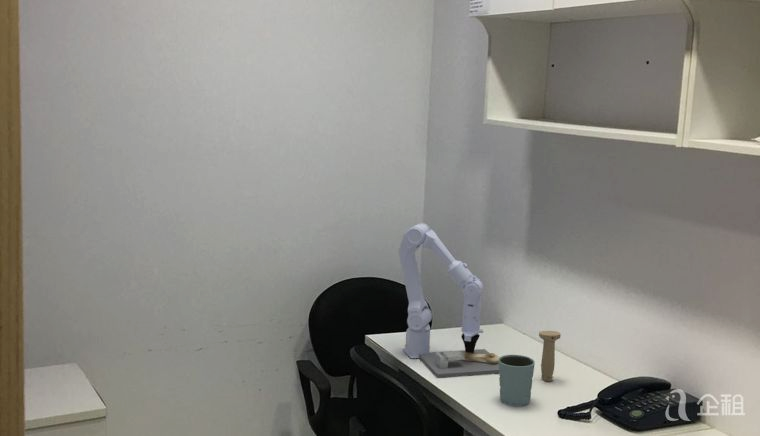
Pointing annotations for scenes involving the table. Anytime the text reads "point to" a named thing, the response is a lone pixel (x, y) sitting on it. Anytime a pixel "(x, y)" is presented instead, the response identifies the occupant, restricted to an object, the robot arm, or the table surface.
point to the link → (481, 357)
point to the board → (459, 366)
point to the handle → (548, 353)
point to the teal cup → (515, 379)
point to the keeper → (447, 358)
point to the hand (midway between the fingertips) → (469, 356)
